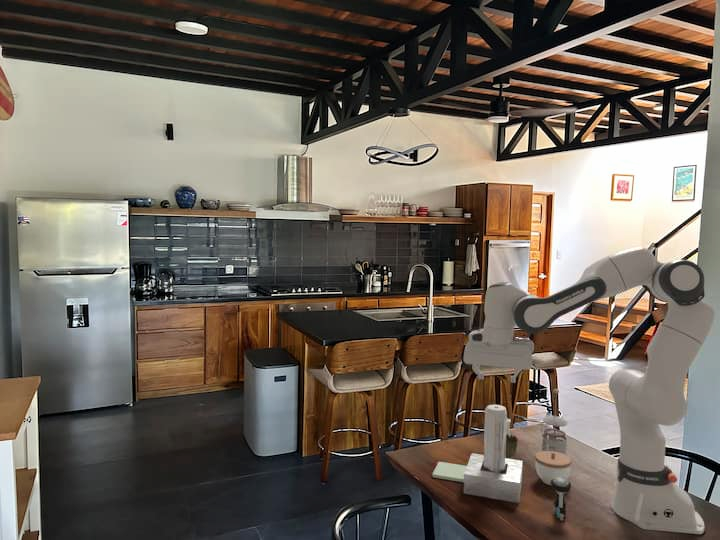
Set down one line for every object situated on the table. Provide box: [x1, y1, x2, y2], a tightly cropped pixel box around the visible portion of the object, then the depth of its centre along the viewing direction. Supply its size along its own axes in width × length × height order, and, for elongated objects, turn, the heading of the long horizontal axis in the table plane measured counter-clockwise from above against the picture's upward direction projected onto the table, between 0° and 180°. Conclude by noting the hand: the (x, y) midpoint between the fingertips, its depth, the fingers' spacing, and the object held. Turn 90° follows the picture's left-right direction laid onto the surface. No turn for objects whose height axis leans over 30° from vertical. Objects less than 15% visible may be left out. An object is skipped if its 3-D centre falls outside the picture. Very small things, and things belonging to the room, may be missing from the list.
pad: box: [431, 461, 467, 483], centre depth 171 cm, size 10×10×1 cm
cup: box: [506, 434, 519, 459], centre depth 181 cm, size 8×7×8 cm
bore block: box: [463, 452, 524, 504], centre depth 162 cm, size 16×16×6 cm
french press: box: [540, 388, 569, 455], centre depth 182 cm, size 10×12×25 cm
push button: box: [550, 477, 572, 521], centre depth 146 cm, size 7×5×10 cm
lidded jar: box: [534, 450, 572, 486], centre depth 166 cm, size 11×11×9 cm
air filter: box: [483, 404, 508, 474], centre depth 162 cm, size 6×6×25 cm
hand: (496, 380), depth 160 cm, fingers open, 8 cm apart
